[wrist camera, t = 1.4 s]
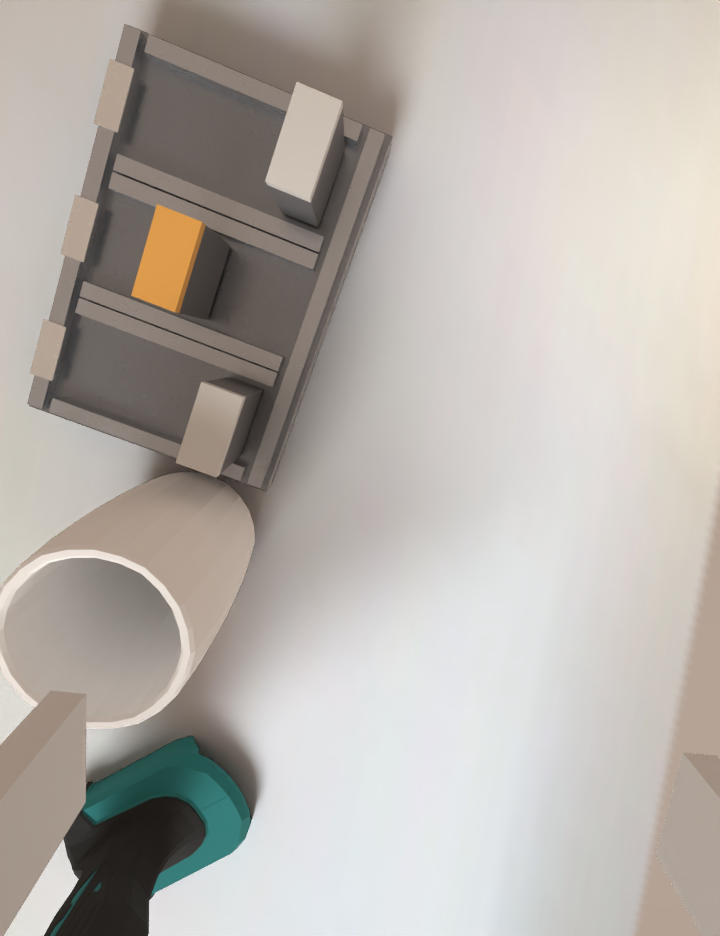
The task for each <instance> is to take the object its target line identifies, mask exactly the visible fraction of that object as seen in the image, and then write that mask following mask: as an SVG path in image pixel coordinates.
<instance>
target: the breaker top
mask: <svg viewBox="0 0 720 936" xmlns="http://www.w3.org/2000/svg"><path fill="white" fill-rule="evenodd" d="M344 151H345V138H344V120H343V102H342V101H341V100H339V99H337V98H334V97H332V96H330V95H327V94H325V93H323V92H320V91H318V90H315V89H313V88H311V87H308V86H306V85H304V84H301V83H299V82H296V85H295V88H294V91H293V94H292V98H291V101H290V104H289V107H288V110H287V113H286V117H285V120H284V123H283V126H282V129H281V132H280V135H279V139H278V142H277V145H276V148H275V151H274V154H273V157H272V161H271V164H270V167H269V170H268V173H267V176H266V180H265V181H266V183H267V185H268V187H269V189H270V191H271V193H272V195H273V197H274V199H275V201H276V202H277V204H278V206H279V208H280V210H281V212H282V213H283V214H286V215H288V216H290V217H293V218H295V219H298V220H300V221H303V222H305V223H308V224H310V225H313V226H315V227H319V224H320V221H321V218H322V216H323V213H324V210H325V207H326V204H327V201H328V198H329V195H330V192H331V189H332V186H333V183H334V180H335V177H336V174H337V172H338V169H339V166H340V163H341V160H342V157H343V154H344Z"/></svg>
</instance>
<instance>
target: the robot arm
mask: <svg viewBox="0 0 720 936" xmlns="http://www.w3.org/2000/svg"><path fill="white" fill-rule="evenodd" d="M85 802H86V694H82V693H71V692H61V691H50V692H49V693H48V694H47V695H46V696H45V697H44V698H43V700H42V701H41V702H40V703H39V704H38V705H37V706H36V707H35V708H34V709H33V710H32V711H31V713H30V714H29V715H28V716H27V717H26V718H25V719H24V720H23V721H22V722H21V723H20V724H19V726H18V727H17V728H16V729H15V730H14V731H13V732H12V733H11V734H10V735H9V736H8V737H7V739H6V740H5V741H4V742H3V743H2V744H1V745H0V936H4V934H5V932H6V931H7V929H8V928H9V926H10V924H11V923H12V921H13V919H14V918H15V916H16V915H17V913H18V911H19V910H20V908H21V906H22V905H23V903H24V902H25V900H26V898H27V897H28V895H29V893H30V892H31V890H32V889H33V887H34V885H35V884H36V882H37V880H38V879H39V877H40V876H41V874H42V872H43V871H44V869H45V867H46V866H47V864H48V863H49V861H50V859H51V858H52V856H53V854H54V853H55V851H56V850H57V848H58V846H59V845H60V843H61V841H62V840H63V838H64V837H65V835H66V833H67V832H68V830H69V828H70V827H71V825H72V824H73V822H74V820H75V819H76V817H77V815H78V814H79V812H80V811H81V809H82V807H83V806H84V804H85ZM656 857H657V859H658V861H659V863H660V864H661V866H662V868H663V869H664V871H665V873H666V875H667V876H668V878H669V880H670V881H671V883H672V885H673V887H674V888H675V890H676V891H677V893H678V895H679V896H680V898H681V900H682V902H683V904H684V905H685V907H686V909H687V910H688V912H689V914H690V916H691V917H692V919H693V921H694V922H695V924H696V926H697V928H698V929H699V931H700V933H701V934H702V936H720V759H719V758H718V757H717V756H713V755H704V754H694V753H693V754H692V753H682V757H681V761H680V765H679V768H678V772H677V776H676V780H675V784H674V787H673V792H672V795H671V799H670V803H669V807H668V810H667V814H666V818H665V821H664V825H663V829H662V833H661V837H660V840H659V844H658V848H657V852H656Z"/></svg>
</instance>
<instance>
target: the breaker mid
mask: <svg viewBox="0 0 720 936" xmlns="http://www.w3.org/2000/svg"><path fill="white" fill-rule="evenodd" d="M229 249H230V245H228V244H227V243H226V242H225V241H224V240H223V239H221V238H220V237H219V236H218V235H217V234H216V233H214V232H213V231H212V230H211V229H210V228H209V227H207V226H206V225H205V224H204V223H203V222H201V221H199V220H196V219H194V218H191V217H189V216H186V215H184V214H181V213H179V212H176V211H174V210H171V209H168V208H166V207H163V206H161V205H158V204H157V206H156V209H155V213H154V217H153V220H152V224H151V227H150V231H149V234H148V238H147V241H146V245H145V248H144V252H143V255H142V259H141V262H140V266H139V270H138V273H137V277H136V280H135V284H134V287H133V291H132V294H131V296H133V297H136V298H139V299H141V300H144V301H147V302H149V303H152V304H154V305H157V306H160V307H162V308H165V309H167V310H170V311H173V312H175V313H180V314H184V315H188V316H193V317H197V318H201V319H206V320H208V317H209V313H210V310H211V307H212V304H213V301H214V297H215V294H216V291H217V288H218V285H219V281H220V278H221V275H222V272H223V269H224V265H225V262H226V259H227V256H228V253H229Z"/></svg>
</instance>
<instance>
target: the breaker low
mask: <svg viewBox="0 0 720 936" xmlns="http://www.w3.org/2000/svg"><path fill="white" fill-rule="evenodd" d="M262 392H263V390H261V389H259V388H256V387H253V386H251V385H248V384H245V383H243V382H240V381H237V380H235V379H232V378H229V377H227V378H221V379H215V380H210V381H204V382H201V384H200V387H199V391H198V394H197V397H196V400H195V403H194V406H193V410H192V413H191V416H190V419H189V422H188V425H187V428H186V432H185V435H184V438H183V441H182V444H181V447H180V450H179V454H178V457H177V460H176V463H177V464H180V465H183V466H185V467H188V468H191V469H194V470H197V471H199V472H202V473H205V474H208V475H210V476H213V477H216V478H217V477H218V476H219V475H220V474H221V473H222V472H223V471H225V470H226V469H227V468H228V467H229V466H230V465H231V464H233V463H234V462H235V461H236V460H237V459H238V458H239V457H240V456H241V453H242V450H243V447H244V444H245V441H246V438H247V436H248V433H249V430H250V427H251V424H252V421H253V418H254V415H255V412H256V409H257V406H258V403H259V400H260V397H261V394H262Z"/></svg>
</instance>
